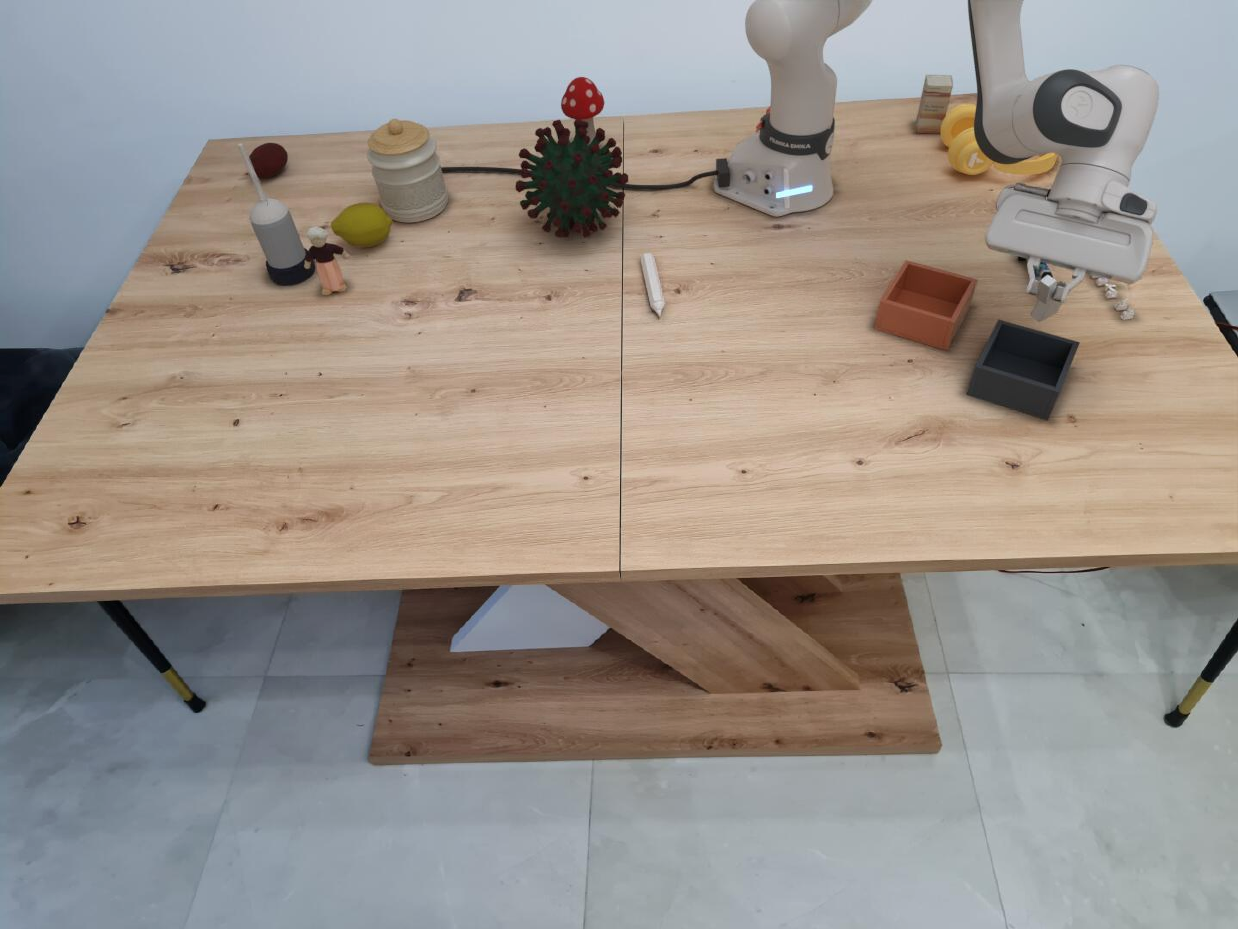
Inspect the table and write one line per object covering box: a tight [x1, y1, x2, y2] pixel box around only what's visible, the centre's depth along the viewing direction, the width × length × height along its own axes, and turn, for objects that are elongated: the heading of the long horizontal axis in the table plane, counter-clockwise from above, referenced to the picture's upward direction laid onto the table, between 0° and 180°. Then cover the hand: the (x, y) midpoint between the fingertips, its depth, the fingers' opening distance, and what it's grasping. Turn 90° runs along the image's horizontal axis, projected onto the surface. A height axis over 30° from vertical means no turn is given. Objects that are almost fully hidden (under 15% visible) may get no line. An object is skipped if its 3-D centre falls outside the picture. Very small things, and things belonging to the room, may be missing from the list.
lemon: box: [330, 202, 394, 248], centre depth 165 cm, size 11×8×8 cm
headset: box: [940, 103, 1059, 176], centre depth 169 cm, size 18×21×9 cm
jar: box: [366, 118, 449, 223], centre depth 169 cm, size 13×13×18 cm
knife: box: [1017, 256, 1054, 281], centre depth 152 cm, size 31×3×4 cm, turn 170°
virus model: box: [515, 119, 629, 239], centre depth 159 cm, size 20×20×20 cm
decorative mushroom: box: [560, 76, 605, 148], centre depth 179 cm, size 10×9×15 cm
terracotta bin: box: [874, 259, 979, 351], centre depth 142 cm, size 12×12×6 cm
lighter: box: [1029, 275, 1071, 323], centre depth 123 cm, size 7×2×8 cm, turn 125°
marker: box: [640, 252, 666, 317], centre depth 152 cm, size 3×2×16 cm
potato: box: [248, 142, 289, 179], centre depth 185 cm, size 8×9×6 cm
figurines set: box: [1089, 274, 1136, 321], centre depth 143 cm, size 12×3×3 cm, turn 7°
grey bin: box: [966, 319, 1081, 421], centre depth 131 cm, size 12×12×6 cm
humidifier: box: [237, 142, 316, 287], centre depth 155 cm, size 8×8×25 cm
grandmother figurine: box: [304, 225, 350, 296], centre depth 155 cm, size 8×4×13 cm, turn 118°
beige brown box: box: [915, 74, 954, 135], centre depth 178 cm, size 5×4×10 cm
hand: (1044, 297), depth 122 cm, fingers closed on lighter, 2 cm apart
